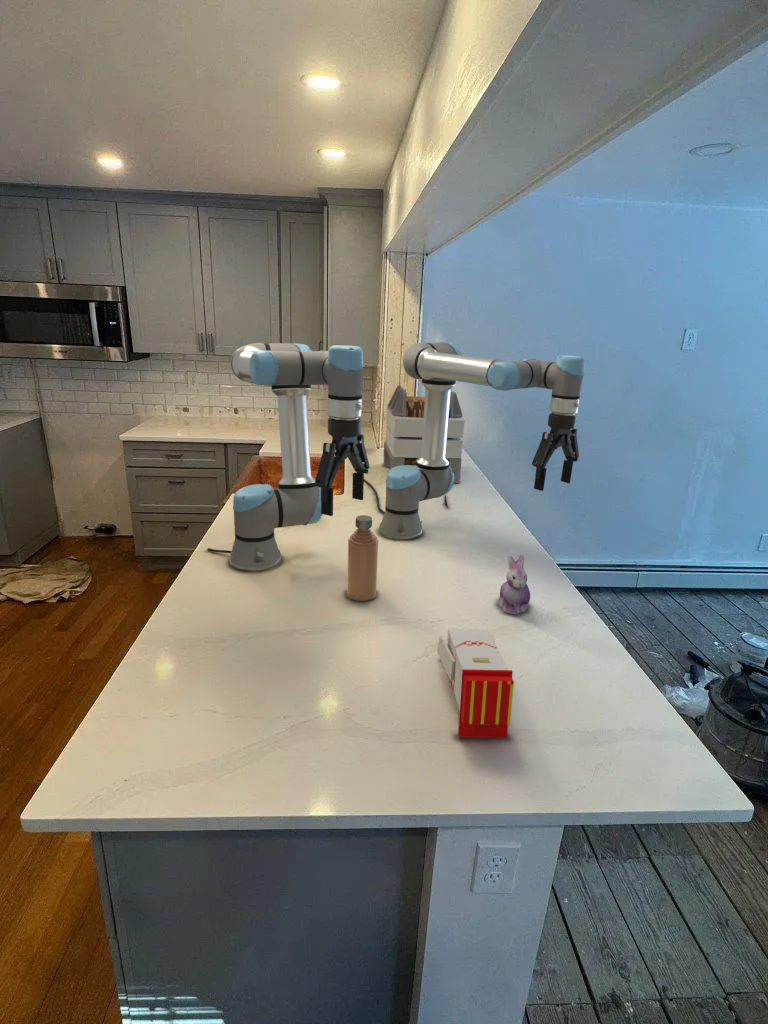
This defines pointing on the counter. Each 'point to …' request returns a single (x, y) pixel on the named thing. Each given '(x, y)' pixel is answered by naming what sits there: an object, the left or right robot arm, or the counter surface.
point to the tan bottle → (362, 565)
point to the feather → (446, 501)
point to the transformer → (419, 431)
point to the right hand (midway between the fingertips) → (552, 485)
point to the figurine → (515, 588)
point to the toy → (478, 682)
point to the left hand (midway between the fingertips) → (343, 506)
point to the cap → (363, 522)
